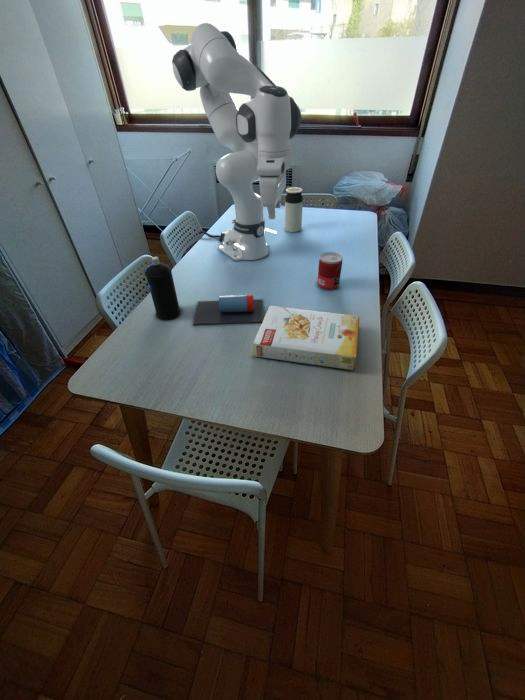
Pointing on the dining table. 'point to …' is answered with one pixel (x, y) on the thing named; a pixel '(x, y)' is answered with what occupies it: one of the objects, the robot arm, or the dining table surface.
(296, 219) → the travel mug
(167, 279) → the aerosol can
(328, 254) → the canned food
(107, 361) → the dining table surface
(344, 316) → the cereal box
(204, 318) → the mat
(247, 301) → the container
